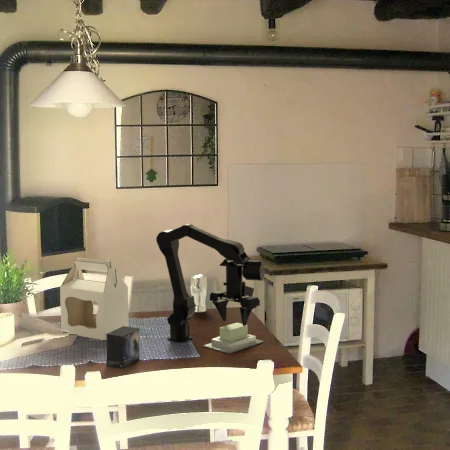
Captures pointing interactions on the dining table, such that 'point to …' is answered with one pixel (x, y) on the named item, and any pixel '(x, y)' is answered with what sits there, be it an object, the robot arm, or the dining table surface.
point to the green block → (233, 332)
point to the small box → (122, 347)
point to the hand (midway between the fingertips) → (234, 323)
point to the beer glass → (199, 291)
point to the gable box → (93, 291)
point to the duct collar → (233, 344)
